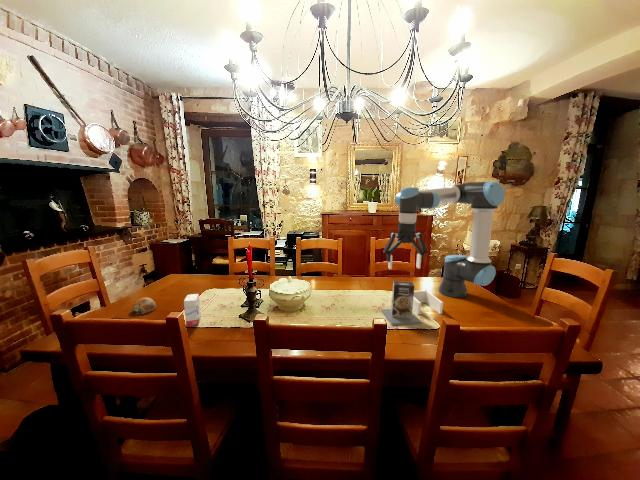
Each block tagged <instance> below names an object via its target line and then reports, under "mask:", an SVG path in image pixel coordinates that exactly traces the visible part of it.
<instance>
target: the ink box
mask: <svg viewBox="0 0 640 480" xmlns="http://www.w3.org/2000/svg"><path fill="white" fill-rule="evenodd" d="M199 294H200V293H191V294H187V295H186V296H185V298H184V300H183V306H184V314H185V323H186V324H185V325H186V327H193V326H194V327H195V326H199V323H200V321H201V320H200V319H201V316H202V315H201V306H200V295H199Z"/></svg>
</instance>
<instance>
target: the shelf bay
mask: <svg viewBox="0 0 640 480" xmlns="http://www.w3.org/2000/svg"><path fill="white" fill-rule="evenodd" d="M424 302H425V303H426V304H427V305H428V306H429V307H431V308H432V309H433V310H434V311H436V312H437V313H438V314H439V315H443V307H444V301H442V300H441V299H439V298H438V297H436V296H435V295H434V294H433V293H431V292H430V291H428V290H414V297H413V308H412V311H414V313H416V314H417V315H418V314H420V315H421V312H422V303H424Z"/></svg>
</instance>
